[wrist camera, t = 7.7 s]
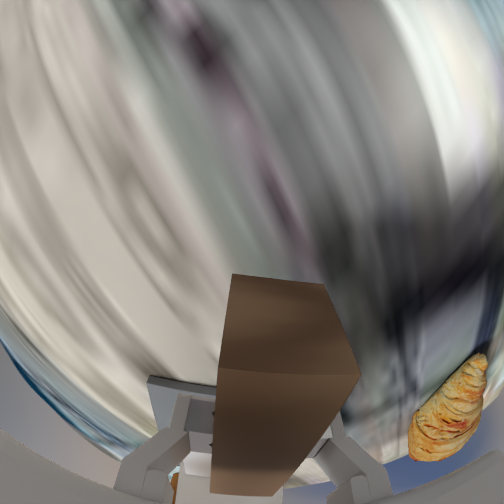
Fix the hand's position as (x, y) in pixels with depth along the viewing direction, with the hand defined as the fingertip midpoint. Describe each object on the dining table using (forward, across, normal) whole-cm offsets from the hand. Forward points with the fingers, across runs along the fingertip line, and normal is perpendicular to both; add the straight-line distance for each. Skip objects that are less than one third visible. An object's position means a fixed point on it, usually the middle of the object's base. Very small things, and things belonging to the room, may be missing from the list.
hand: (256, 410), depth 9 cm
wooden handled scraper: (+2, 0, +4) cm, 4 cm away
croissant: (+7, -24, +13) cm, 28 cm away
